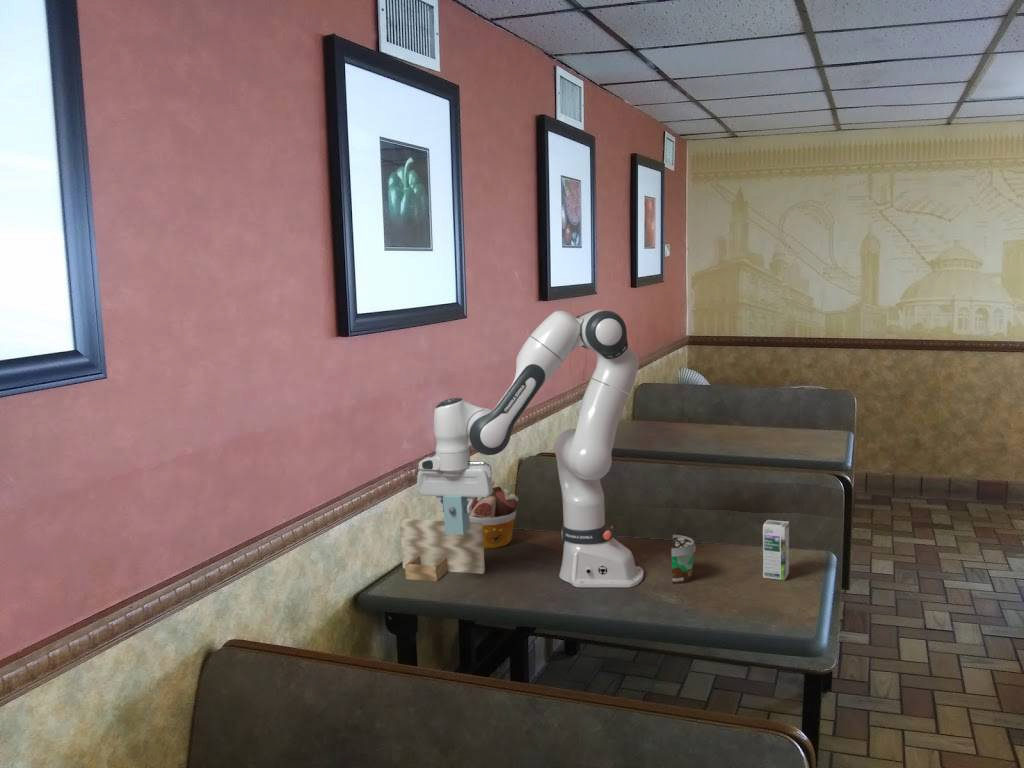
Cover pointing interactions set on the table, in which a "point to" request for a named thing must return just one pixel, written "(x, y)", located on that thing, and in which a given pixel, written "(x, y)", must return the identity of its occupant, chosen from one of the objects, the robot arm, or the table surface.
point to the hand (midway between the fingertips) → (456, 512)
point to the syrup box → (776, 549)
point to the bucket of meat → (495, 517)
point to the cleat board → (440, 549)
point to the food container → (682, 559)
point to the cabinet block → (455, 515)
